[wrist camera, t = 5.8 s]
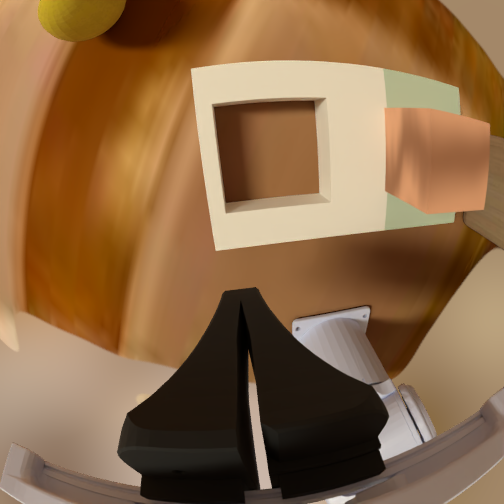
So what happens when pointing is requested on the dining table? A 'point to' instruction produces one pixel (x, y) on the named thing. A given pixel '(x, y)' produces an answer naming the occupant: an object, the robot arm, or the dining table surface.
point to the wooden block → (491, 198)
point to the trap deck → (329, 148)
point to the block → (436, 159)
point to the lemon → (79, 17)
